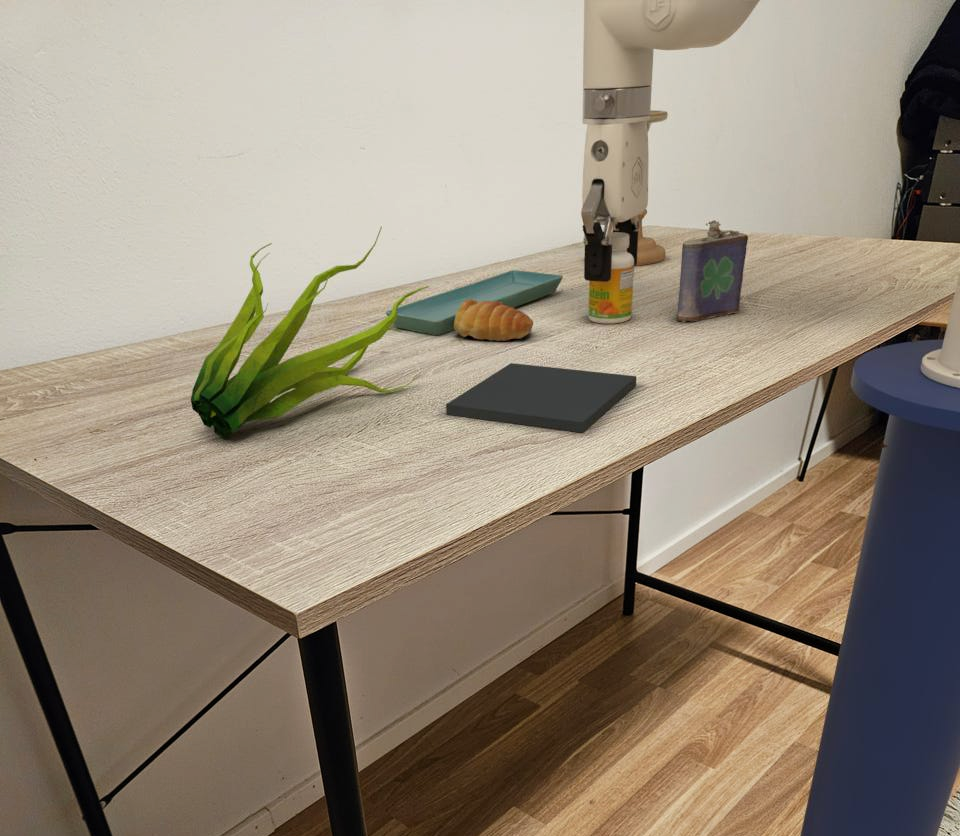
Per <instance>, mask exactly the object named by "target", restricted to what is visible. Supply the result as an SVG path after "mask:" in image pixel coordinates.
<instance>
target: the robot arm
mask: <svg viewBox="0 0 960 836" xmlns="http://www.w3.org/2000/svg"><path fill="white" fill-rule="evenodd" d="M760 1H761V0H583V55H582V57H583V59H582V60H583V61H582V63H583V64H582V66H583V67H582V121H581V122H582V124H583V125H586V133H585V142H584V154H583V167H582V169H583V170H582V193H581V194H582V195H581V196H582V197H581V199H582V201H581V203H582V204H581V205H582V208H581V211H580V215H581V219H582V231H583V234H584V235H583V241H582V242H583V245H584V255H583V256H584V259H583V260H584V261H583V262H584V263H583V265H584V267H583V268H584V269H583V279H584V280H585V281H587V282H589V281H601V282H608V281H609V280H610V279H611V265H612V245H611V244H609V240H610V236H611V232H622V233H627V234H629V247H628V248H627V252H628V253H630V254H631V255H632V256H633V258H634V267H635V265H636V264H637V251H638V229H639V217H638V216H639V214H641V213H642V212H644V211H645V209H646V210H647V209H648V204H649V131H648V130H647V121H650V110H651V107H652V91H653V90H652V89H653V87H652V85H653V71H654V70H653V68H654V51H655V50H661V51H683V50H688V49H699V48H700V49H701V48H709V47H715V46H718V45H720V44H722V43H723V42H725V41H727V40H728V39H730V38H731V37H732V36H733V35H734V34H736V32H737V31H738V30H739V29H740V28H741V27H742V26H743V24H744V23H745V22H746V21H747V19H748V18H749V17H750V15H751V14H752V12H753V11H754V10H755V8H756V7H757V5H758V4H759V3H760ZM613 223H614V224H615V228H616V230H613ZM602 226H603V228H602ZM612 230H613V231H612ZM634 230H637V231H634ZM636 266H637V265H636ZM943 339H944V341H943V346H942V349H939V350H935V351H932V352H930V353H928V354H926V355H925V356H924V357H923V359H922V363H921V367H920V369H921V372H922V373H923V374H924V375H925V376H926V377H928V378H929V379H931V380H933V381H935V382H938V383H941V384H944V385H947V386H950V387H954V388H959V389H960V272H959V274H958V278H957V282H956V286H955V291H954V295H953V299H952V304H951V308H950V312H949V316H948V320H947V324H946V329H945V333H944V337H943Z"/></svg>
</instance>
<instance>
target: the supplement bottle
mask: <svg viewBox="0 0 960 836" xmlns="http://www.w3.org/2000/svg"><path fill="white" fill-rule="evenodd" d="M609 244H611V245H612V265H611V279H610V280H609V281H608V282H601V281H588V313H587V314H588V319H589V320H590V321H591V322H592V323H596V324H597V323H598V324H608V325H609V324H610V325H611V324H621V323H625V322H627V321H629V320H630V319H631V318H632V314H633V297H634V274H635V266H634V258H633V256H632V255H631V254H630V253H628V252H627V248H628V247H629V234H627V233H622V232H611V236H610V240H609Z"/></svg>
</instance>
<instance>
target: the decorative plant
mask: <svg viewBox="0 0 960 836" xmlns="http://www.w3.org/2000/svg"><path fill="white" fill-rule="evenodd" d="M382 228H383V227H382V226H380V228H379V230H378V233H377V236H376V238H375V241H374V243H373V245H372V246H371V248H370V249H369V250H368V252H367V253H366V254H365V255H364V256H363V258H362V259H361V260H359V261H358V262H356V263H354V264H345V265H335V266H333V267H331V268H329V269H327V270H325V271H323V272H321V273H319V274H317V275H315V276H314V277H313V279H312V280H311V281H310V283H309V284H308V285H307V287H305V289H304V291H303V292H302V293H301V295H300V296H298V298H297V299H296V301H295V302H294V303H293V305H291V308H290V309H289V311H288V313H287V314H286V315H285V317H284V318H283V319H282V320H281V321H280V322H279V323H277V325H276V326H275V328H274V329H273V330H272V331H271V332H270V333H269V334H268V335H267V337H265V338H264V339H263V340H262V341H261V342H260V343H259V344H258V345H257V346H256V347H254V349H253V350H252V352H251V353H250V355H248V357H247V358H246V360H245V361H244V362H243V364H242V365H241V366H240V367H239V370H238V371H237V373H236V374H235V375H234V376H232V377H230V376H231V374H232V373H233V371H234V369H235V368H236V366H237V364H238V362H239V361H240V357H241V354H242V350H243V348H244V346H245V344H246V343H247V342H248V341H250V340H251V338H252V336H253V335H254V333H255V331H256V330H257V329H258V328H259V326H260V324H261V322H262V321H263V319H264V314H265V313H266V311H267V309H268V305H269V302H267V303H266V306H265V310H264V307H263V303H262V295H263V293H264V287H263V282H262V278H261V273H260V271H258V268H259V266H260V264H261V262H262V261H263V260H264V259H265V258H267V256H268V255H269V254H270V252H268V253H267V254H266V255H264V256H263V257H262V258H261V259H260V260H259V261H258V263H257V265H255V264H254V258H255V257H256V256H257V255H258V253H259V252H260V251H261V250H263V249H265V248H267V247H269V246H271V245H273V243H272V242H270V243H268V244H266V245H264V246H262V247H261V248H259V249H257V251H255V252H254V253H253V254H252V255H251V256H250V260H249V267H250V269H251V271H252V278H251V283H252V287H251V289H250V291H249V293H248V294H247V297H246V298H245V300H244V302H243V304H242V306H241V308H240V309H239V312H238V313H237V314H236V317H235V318H234V320H233V322H232V323H231V325H230V326H229V327H228V330H227V331H226V333H225V335H224V336H223V338H222V339H221V341H220V342H219V344H218V345H217V346H216V347H215V348H214V349H213V350H212V351H211V352H210V353H209V354H207V355H206V356H205V359H204V360H203V363H202V365H201V368H200V370H199V372H198V375H197V378H196V380H195V383H194V384H193V387H192V392H191V397H190V404H191V409H192V410H193V411H194V413H197V414H198V416H199V418H200V420H201V421H202V424H203V426H205V427H208V428H209V429H211V428H213V431H214V434H216V435H217V436H218V437H220V438H221V439H223V440H227V439H228V438H229V437H230V436H231V435H233V434H234V433H235V432H236V431H238V430H239V429H240V428H241V427H243V426H244V425H245V424H247V423H249V422H252V421H262V420H271V419H277V418H279V417H281V416H283V415H285V414H286V413H287V412H289V411H291V410H292V409H293V408H295V407H296V406H298V405H299V404H301V403H303V402H305V401H306V400H307V399H309V398H311V397H312V396H315V394H318V393H321V392H325V391H327V390H331V389H333V388H336V387H339V386H353V387H364V388H367V389H370V390H372V391H375V392H378V393H389V394H390V393H391V394H392V393H394V392H396V391H398V390H401V389H403V388H405V387H407V386H409V385H410V384H412V383H413V382H414V381H416V380H417V379H418V378H419V377H420V376H421V374H419V375H418V376H416V377H415V378H414V379H412V380H411V381H409V382H408V383H407V384H404V385H402V386H399V387H396V388H394V389H391V390H390V389H384V388H380V387H378V385H375V384H373V383H371V382H370V381H368V380H366V379H362V378H357V377H353V376H348V374H349V373H350V372H351V370H352V369H353V368H354V367H355V366H356V365H357V364H358V362H360V360H361V359H362V358H363V356H364V354H365V352H366V351H367V349H368V348H369V346H370V345H372V344H374V343H376V342H378V341H379V340H382V338H383V336H385V334H386V333H387V332H388V331H391V330H392V331H395V332H398V333H402V331H401V330H398V329H395V328H391V327H392V326H393V325H394V324H393V323H394V322H395V321H396V320H397V310H398V307H400V305H401V304H402V303H403V302H404V301H405V300H406V299H407V298H408V297H411V296H412V295H415V294H416V293H418V292H420V291H422V290H425V289H428V288H429V287H430V286H429V285H427V286H423V287H420V288H417V289H415V290H413V291H412V290H411V291H410V292H408V293H407V292H406V293H404V295H402V296H401V297H400V298H399V299H398V300H397V301H396V302H394V304H393V307H392V309H393V310H392V313H391V315H390V316H387V317H385V318H384V319H382V320H381V321H379V322H378V323H377V324H375V325H374V326H372V327H371V328H368V329H365V330H363V331H360V332H359V333H356V334H353V335H351V336H349V337H346V338H343V339H341V340H338V341H336V342H333V343H330V344H327V345H324V346H321V347H319V348H316V349H313V350H310V351H307V352H304V353H301V354H299V355H298V354H297V355H296V356H293V357H290V358H288V359H286V360H284V361H282V359H283V357H284V356H285V354H286V352H287V351H288V350H289V348H290V346H291V344H292V343H293V341H294V340H295V337H296V336H297V334H298V333H299V332H300V330H301V328H302V326H303V325H304V323H305V321H306V320H307V317H308V314H309V312H310V310H311V308H312V306H313V303H314V300H315V298H316V297H318V295H319V294H320V293H321V292H323V290H325V288H326V286H327V283H328V281H329V279H331V278H332V277H334V276H336V275H338V274H339V273H343V272H347V271H351V270H356V269H357V268H359V267H360V266H361V265H362V264H363V263H365V261H366V260H367V258H368V257H369V255H370V254H371V252H372V251H373V249H374V248H375V246H376V245H377V242H378V239H379V236H380V234H381V231H382ZM322 283H324V285H323V287H322V288H321V289H320V290H319V288H320V286H321V284H322ZM353 354H354V355H353ZM351 355H353V356H352V357H351V358H350V359H348V361H347V362H345V363H344V365H342V366H341V367H335V366H332V365H334V364H335V363H337V362H339V361H342V360H343V359H345V358H347V357H349V356H351ZM281 361H282V362H281ZM331 366H332V367H331Z"/></svg>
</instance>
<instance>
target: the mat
mask: <svg viewBox="0 0 960 836" xmlns="http://www.w3.org/2000/svg"><path fill="white" fill-rule="evenodd" d="M635 387H637V375H630V374H629V375H628V374H620V373H611V372H610V373H608V372H602V371H601V372H600V371H592V370H591V371H589V370H583V369H581V370H580V369H572V368H571V369H570V368H563V367H561V368H560V367H552V366H542V365H534V364H524V363H523V364H522V363H514V362H511V363H508V364H507V365H505V366H504V367H502V368H501V369H499V370H497V371H495V372H494V373H493V374H491V375H489V376H487V378H485V379H483V380H482V381H480V382H478V383H477V384H476V385H474V386H472V387H471V388H469V389H468V390H466V391H464V392H462V393H461V394H460V395H458V396H457V397H455V398H453V399H452V400H450V401H449V402H447V403H446V404H445V409H446V410H445V411H446V412H445V413H446V415H448V416H454V417H455V416H457V417H464V418H472V419H479V420H485V421H493V422H500V423H507V424H508V423H509V424H515V425H523V426H529V427H530V426H531V427H538V428H544V429H553V430H560V431H566V432H575V433H581V434H583V433H584V432H586V430H588V429H589V428H590V427H591V426H592V425H594V424H595V423H596V422H597V421H598V420H599V419H600V418H601V417H603V415H605V414H606V413H607V412H608V411H610V410H611V409H612V408H613V407H614V406H615V405H616V404H617V403H618V402H619V401H621V400H622V399H623V398H624V397H625V396H626V395H628V394H629V393H630V392H631V391H632V390H633V389H635Z"/></svg>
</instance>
